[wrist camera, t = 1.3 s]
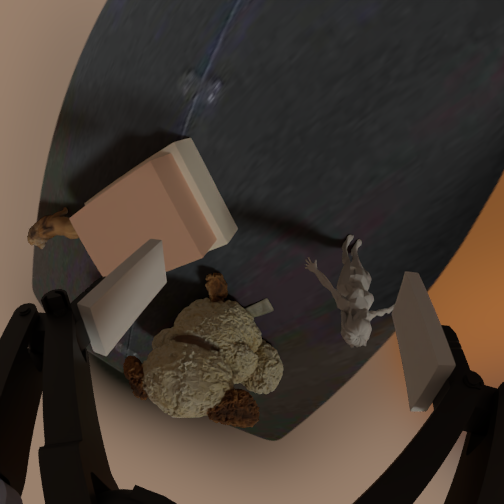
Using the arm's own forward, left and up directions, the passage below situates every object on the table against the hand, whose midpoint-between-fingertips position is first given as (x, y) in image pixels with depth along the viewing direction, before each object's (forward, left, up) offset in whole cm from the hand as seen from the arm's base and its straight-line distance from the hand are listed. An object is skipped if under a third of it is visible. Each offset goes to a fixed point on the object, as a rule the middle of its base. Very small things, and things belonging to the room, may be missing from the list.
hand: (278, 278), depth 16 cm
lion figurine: (-10, -38, -25) cm, 46 cm away
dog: (+16, -21, -25) cm, 36 cm away
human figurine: (+11, +2, -25) cm, 27 cm away
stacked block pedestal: (-4, -20, -24) cm, 32 cm away
